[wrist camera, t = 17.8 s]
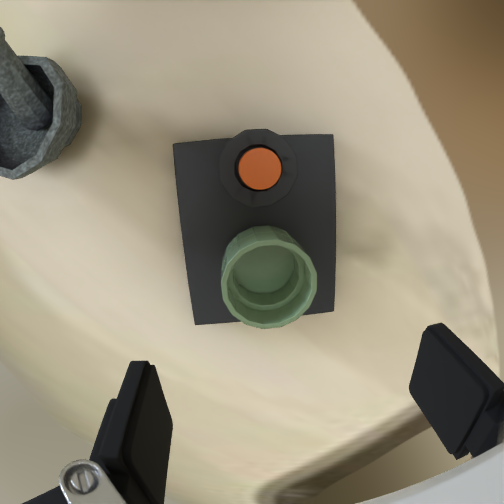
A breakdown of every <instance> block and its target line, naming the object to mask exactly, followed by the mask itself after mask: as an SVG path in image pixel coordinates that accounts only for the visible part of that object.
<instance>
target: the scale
mask: <svg viewBox="0 0 504 504" xmlns="http://www.w3.org/2000/svg"><path fill="white" fill-rule="evenodd" d="M255 148H265V149H268V150H270V151H272V152H273V153H275V154H276V155H277V157H278V158H279V160H280V163H281V175H280V177H279V179H278V181H277V182H276V183H275V184H274V185H273V186H271V187H270V188H267V189H263V190H258V189H253V188H251V187H249V186H247V185H246V184H245V183H244V182H243V180H242V179H241V177H240V175H239V171H238V165H239V161H240V159H241V157H242V156H243V155H244V154H245V153H246V152H247V151H249V150H251V149H255ZM173 152H174V164H175V175H176V186H177V196H178V205H179V214H180V223H181V231H182V239H183V247H184V255H185V262H186V270H187V277H188V284H189V290H190V297H191V303H192V310H193V316H194V322H195V325H202V324H216V323H229V322H241V321H240V320H239V319H237V318H236V317H235V316H233V315H232V314H231V312H230V311H229V309H228V307H227V306H226V304H225V302H224V301H223V296H222V287H221V272H222V260H223V257H224V254H225V251H226V247H227V246H228V245H229V243H230V242H231V241H232V240H233V239H234V238H235V237H236V235H237V234H239V233H241V232H243V231H245V230H247V229H249V228H251V227H254V226H267V225H269V226H273V227H276V228H279V229H283V230H285V231H287V232H288V233H289V234H290V235H291V236H292V237H293V238H294V239H296V240H297V242H298V243H299V244H300V246H301V247H302V248H303V249H304V251H305V252H306V253H307V254H308V256H309V257H310V259H311V261H312V263H313V265H314V268H315V270H316V272H317V291H316V294H315V296H314V298H313V301H312V303H311V305H310V306H309V308H308V309H307V310H306V311H305V312H304V313H303V314H302V315H309V314H317V313H325V312H332V311H334V299H335V268H336V190H335V159H334V139H333V134H308V135H278V134H276V133H274V132H272V131H270V130H268V129H253V130H244V131H243V132H241V133H240V134H238V135H237V136H235V137H234V138H225V139H213V140H203V141H193V142H184V143H176V144H173Z"/></svg>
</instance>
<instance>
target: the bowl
mask: <svg viewBox="0 0 504 504" xmlns="http://www.w3.org/2000/svg"><path fill="white" fill-rule="evenodd" d="M221 287H222V296H223V301H224V302H225V304H226V306H227V307H228V309H229V311H230V312H231V314H232V315H233V316H235V317H236V318H237V319H239V320H240V321H242V322H243V323H244V324H246V325H249V326H253V327H257V328H261V329H268V328H277V327H282V326H284V325H286V324H289V323H291V322H293V321H295V320H297V319H298V318H299V317H300V316H301V315H302V314H303V313H304V312H305V311H306V310H307V309H308V308H309V306H310V305H311V303H312V301H313V298H314V296H315V294H316V291H317V272H316V270H315V268H314V265H313V263H312V261H311V259H310V257H309V256H308V254H307V253H306V252H305V251H304V249H303V248H302V247H301V246H300V244H299V243H298V242H297V240H296V239H294V238H293V237H292V236H291V235H290V234H289V233H288V232H287V231H285V230H283V229H279V228H276V227H273V226H269V225H267V226H254V227H251V228H249V229H247V230H245V231H243V232H241V233H239V234H237V235H236V237H235V238H234V239H233V240H232V241H231V242H230V243H229V245H228V246H227V247H226V251H225V254H224V257H223V260H222V272H221Z"/></svg>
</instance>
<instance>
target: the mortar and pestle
mask: <svg viewBox="0 0 504 504" xmlns="http://www.w3.org/2000/svg"><path fill="white" fill-rule="evenodd" d="M80 126H81V104H80V103H79V101H78V100H77V90H76V89H75V87H74V86H73V84H72V83H71V82H70V80H69V79H68V77H67V76H66V74H65V73H64V71H63V70H62V68H61V67H60V66H59V65H58V64H57V63H56V62H55V61H53V60H51V59H49V58H47V57H37V56H17V55H16V54H15V52H14V51H13V50H12V49H11V47H10V46H9V45H8V43H7V42H6V41H5V34H4V31H3V29H2V28H1V27H0V176H2V177H6V178H9V179H12V180H14V179H19V178H23V177H25V176H27V175H29V174H31V173H33V172H35V171H36V170H38V169H40V168H41V167H43V166H45V165H46V164H48V163H50V162H52V161H54V160H55V159H57V158H58V157H59V155H60V153H61V151H62V149H63V148H64V147H66V146H68V145H70V144H71V142H72V140H73V138H74V137H75V135H76V133H77V131H78V130H79V128H80Z"/></svg>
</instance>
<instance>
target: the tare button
mask: <svg viewBox="0 0 504 504" xmlns="http://www.w3.org/2000/svg"><path fill="white" fill-rule="evenodd" d="M238 171H239V175H240V177H241V179H242V180H243V182H244V183H245V184H246V185H247V186H249V187H251V188H253V189H258V190H263V189H267V188H270V187H271V186H273V185H274V184H275V183H276V182H277V181H278V179H279V177H280V175H281V163H280V160H279V158H278V157H277V155H276V154H275V153H273V152H272V151H270V150H268V149H265V148H255V149H251V150H249V151H247V152H246V153H245V154H244V155H243V156H242V157H241V159H240V161H239V165H238Z"/></svg>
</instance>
